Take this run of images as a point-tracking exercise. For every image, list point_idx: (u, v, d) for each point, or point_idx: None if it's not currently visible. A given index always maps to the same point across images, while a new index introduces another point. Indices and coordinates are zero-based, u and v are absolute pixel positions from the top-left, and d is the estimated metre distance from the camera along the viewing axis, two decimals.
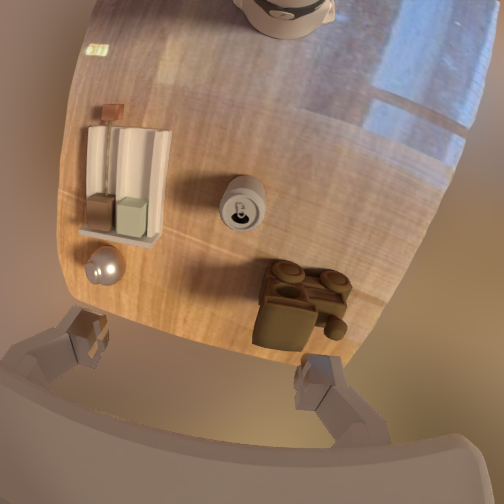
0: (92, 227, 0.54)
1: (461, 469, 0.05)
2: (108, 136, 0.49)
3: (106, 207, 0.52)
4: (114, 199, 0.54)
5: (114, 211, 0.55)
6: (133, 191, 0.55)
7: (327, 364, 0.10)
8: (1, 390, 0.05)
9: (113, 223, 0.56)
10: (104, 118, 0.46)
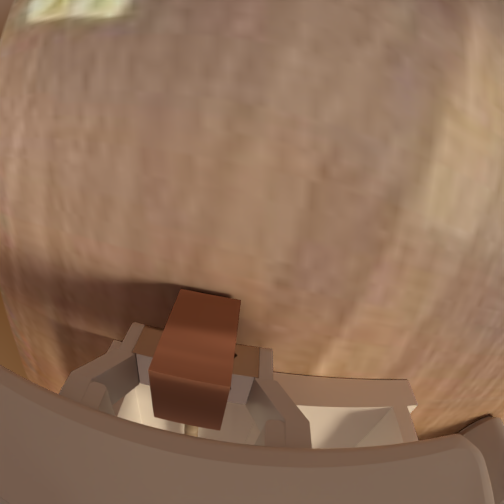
0: None
1: (461, 469, 0.05)
2: (189, 432, 0.12)
3: None
4: None
5: None
6: None
7: (255, 356, 0.10)
8: (1, 390, 0.05)
9: None
10: (173, 417, 0.09)
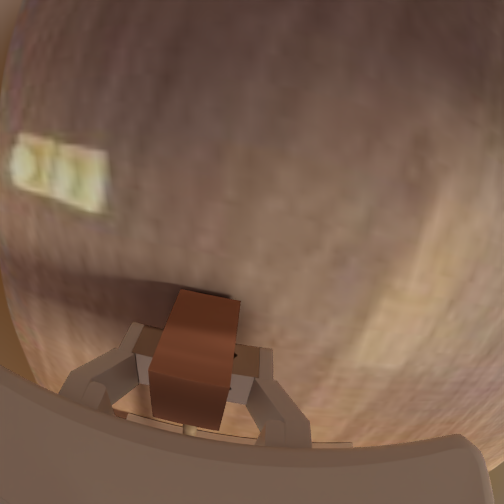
0: None
1: (461, 469, 0.05)
2: (188, 431, 0.12)
3: None
4: None
5: None
6: None
7: (255, 356, 0.10)
8: (1, 390, 0.05)
9: None
10: (172, 417, 0.09)
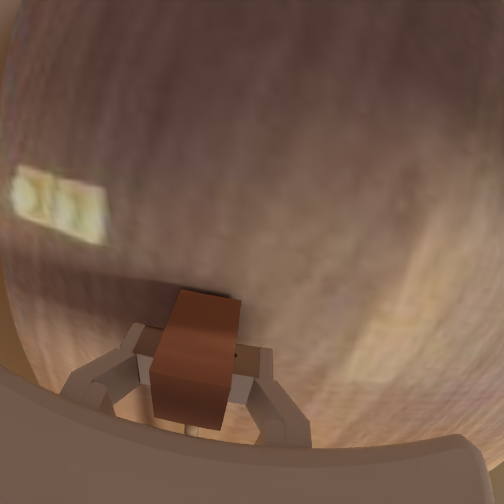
0: None
1: (461, 469, 0.05)
2: (190, 432, 0.12)
3: None
4: None
5: None
6: None
7: (255, 356, 0.10)
8: (1, 390, 0.05)
9: None
10: (174, 417, 0.09)
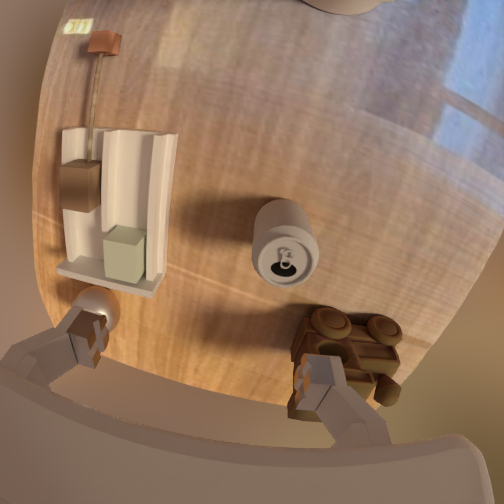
0: (67, 207, 0.34)
1: (461, 469, 0.05)
2: (95, 75, 0.30)
3: (87, 176, 0.32)
4: (100, 166, 0.35)
5: (100, 184, 0.36)
6: (125, 218, 0.40)
7: (327, 364, 0.10)
8: (1, 390, 0.05)
9: (98, 202, 0.37)
10: (92, 49, 0.27)
